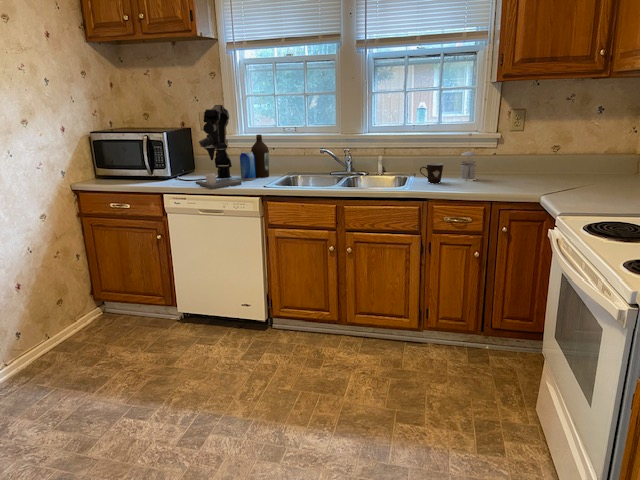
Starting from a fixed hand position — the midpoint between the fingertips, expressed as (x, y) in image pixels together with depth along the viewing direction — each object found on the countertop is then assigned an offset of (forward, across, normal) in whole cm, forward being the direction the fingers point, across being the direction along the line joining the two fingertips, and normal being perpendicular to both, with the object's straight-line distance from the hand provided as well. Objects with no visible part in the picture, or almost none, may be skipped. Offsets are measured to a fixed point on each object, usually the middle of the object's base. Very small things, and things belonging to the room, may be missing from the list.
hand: (215, 160), depth 271 cm
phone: (+12, -4, -8) cm, 16 cm away
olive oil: (+13, +1, +29) cm, 32 cm away
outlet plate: (+12, +9, -3) cm, 16 cm away
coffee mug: (+13, +88, +81) cm, 120 cm away
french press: (+13, +97, +101) cm, 141 cm away
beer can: (+13, +4, +18) cm, 22 cm away
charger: (+12, +6, -7) cm, 15 cm away
